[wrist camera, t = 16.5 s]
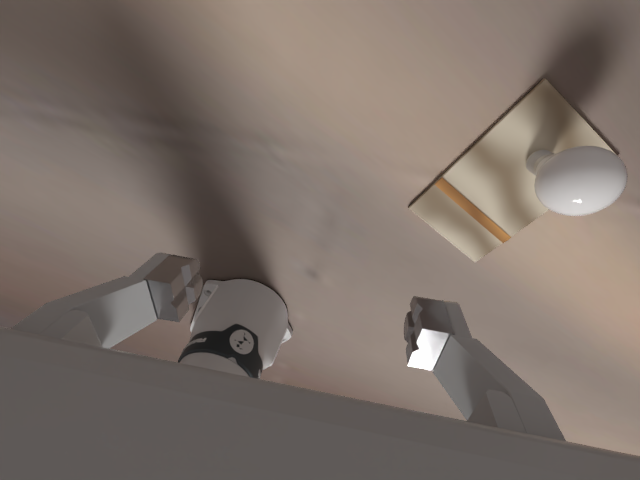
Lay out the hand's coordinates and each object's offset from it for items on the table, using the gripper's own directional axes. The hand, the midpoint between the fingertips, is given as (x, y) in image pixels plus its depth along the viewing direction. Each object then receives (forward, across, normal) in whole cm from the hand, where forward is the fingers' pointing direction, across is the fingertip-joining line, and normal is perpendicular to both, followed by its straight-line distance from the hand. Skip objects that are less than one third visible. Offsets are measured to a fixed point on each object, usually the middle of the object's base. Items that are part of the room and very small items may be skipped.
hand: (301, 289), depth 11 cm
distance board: (+29, -20, +3) cm, 35 cm away
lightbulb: (+29, -22, 0) cm, 36 cm away
